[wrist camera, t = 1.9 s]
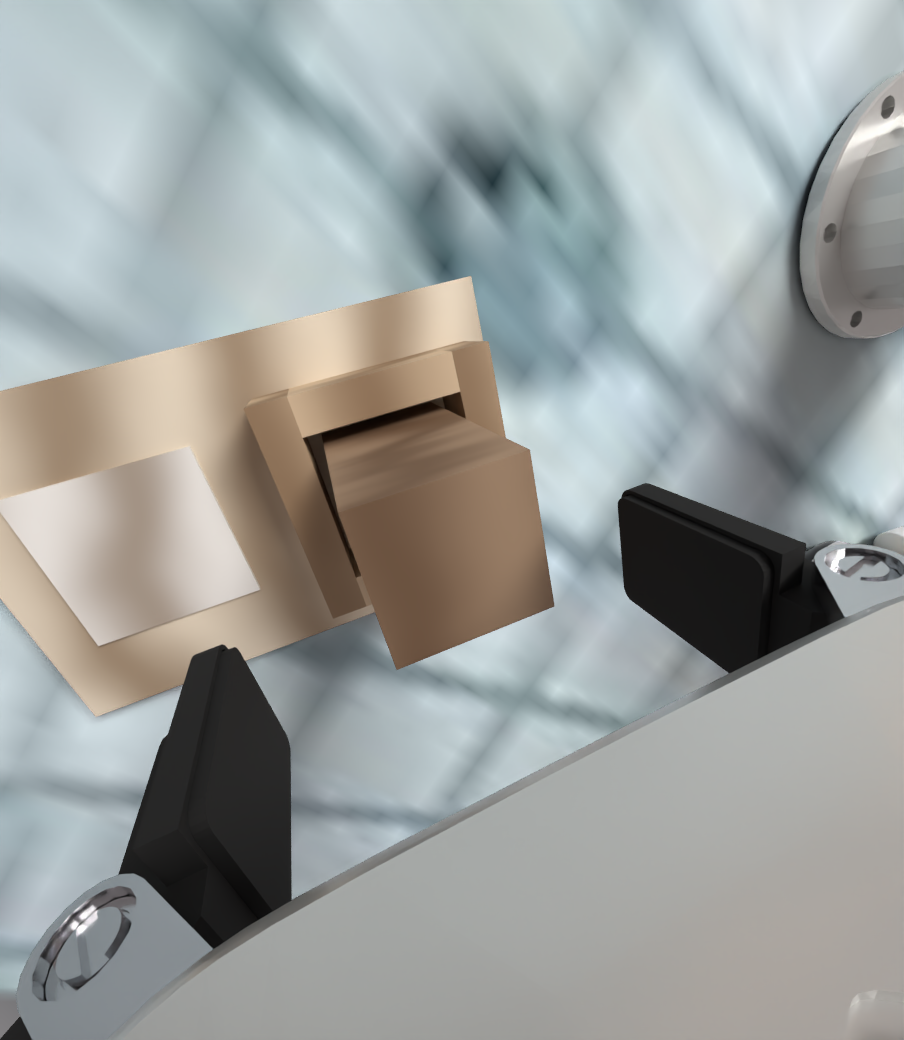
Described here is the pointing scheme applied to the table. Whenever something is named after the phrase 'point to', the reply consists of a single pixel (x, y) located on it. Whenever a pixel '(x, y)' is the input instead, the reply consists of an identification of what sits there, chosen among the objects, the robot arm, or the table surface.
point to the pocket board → (212, 486)
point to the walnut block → (439, 527)
